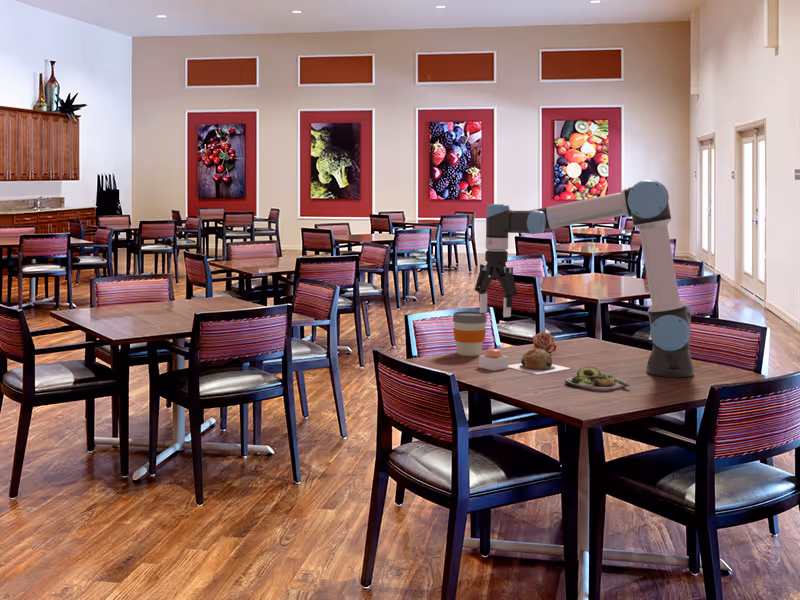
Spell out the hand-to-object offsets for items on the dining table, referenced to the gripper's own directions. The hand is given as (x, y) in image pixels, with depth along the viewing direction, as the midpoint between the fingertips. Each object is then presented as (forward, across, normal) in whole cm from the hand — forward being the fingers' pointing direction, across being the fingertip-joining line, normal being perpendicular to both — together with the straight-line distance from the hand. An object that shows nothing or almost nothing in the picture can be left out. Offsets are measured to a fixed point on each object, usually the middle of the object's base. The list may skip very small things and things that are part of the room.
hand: (494, 314), depth 292 cm
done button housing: (+18, 0, 0) cm, 18 cm away
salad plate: (+19, +37, +9) cm, 42 cm away
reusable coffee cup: (+19, -24, +10) cm, 32 cm away
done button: (+15, 0, 0) cm, 15 cm away
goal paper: (+18, +9, +12) cm, 24 cm away
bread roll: (+18, +9, +12) cm, 23 cm away
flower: (+19, -7, +32) cm, 38 cm away
